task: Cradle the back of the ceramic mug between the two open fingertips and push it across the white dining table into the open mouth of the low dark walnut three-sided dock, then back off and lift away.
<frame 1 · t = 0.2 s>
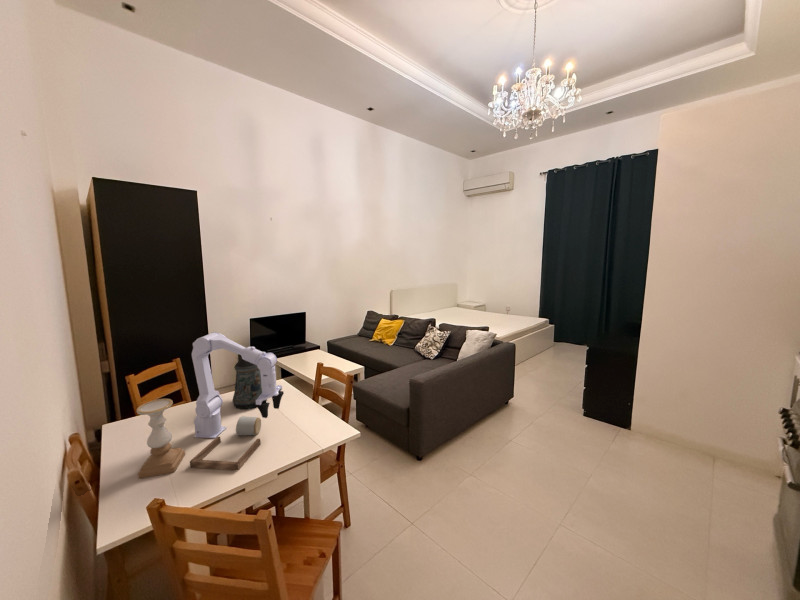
hand: (270, 412, 132), 10 cm above the table, tool pointing down, fingers open, 7 cm apart
ceramic mug: (250, 432, 135), on the table
beer stein: (248, 401, 162), on the table
candle holder: (163, 466, 114), on the table
walnut dock: (228, 454, 120), on the table
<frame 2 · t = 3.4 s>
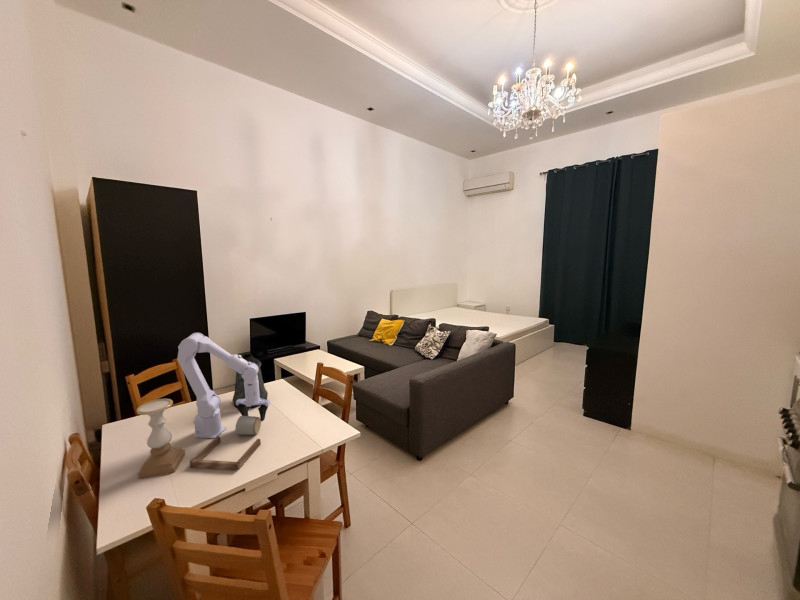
hand: (254, 419, 138), 3 cm above the table, tool pointing down
ceramic mug: (250, 431, 135), on the table, touching gripper
everything else where it was.
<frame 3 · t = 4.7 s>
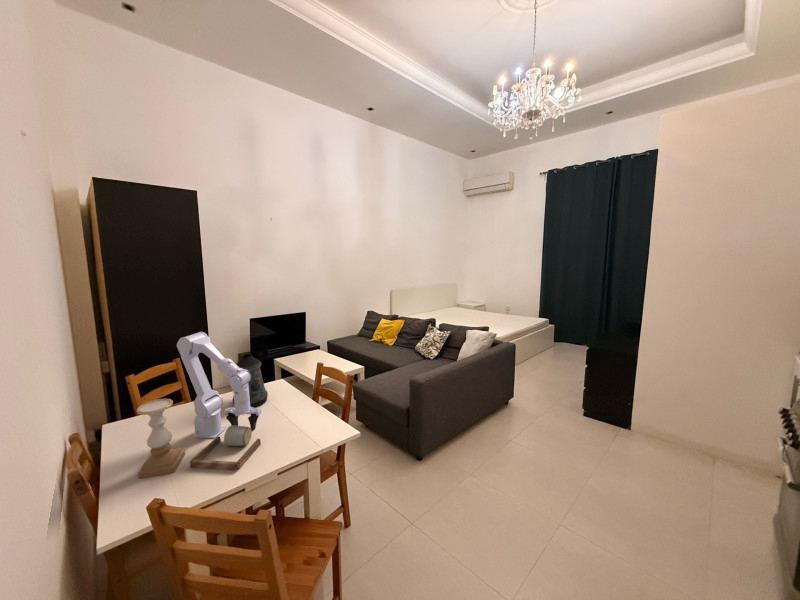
hand: (244, 429, 130), 3 cm above the table, tool pointing down
ceramic mug: (240, 442, 128), on the table, touching gripper
everything else where it was.
when the fingers open (3 cm above the table, at t = 5.5 s): ceramic mug moves 2 cm, on the table.
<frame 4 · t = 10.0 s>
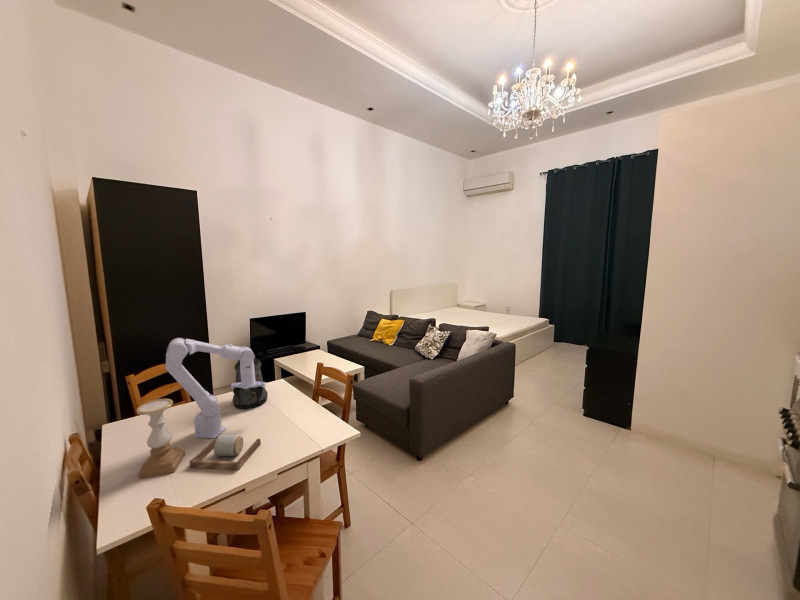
hand: (250, 402, 141), 9 cm above the table, tool pointing down, fingers open, 7 cm apart
ceramic mug: (231, 452, 122), on the table
everything else where it was.
at the end: ceramic mug inside the target area on the walnut dock (1.7 cm from its centre), point 0.0 cm above the walnut dock's base; ceramic mug tilted 1° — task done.
